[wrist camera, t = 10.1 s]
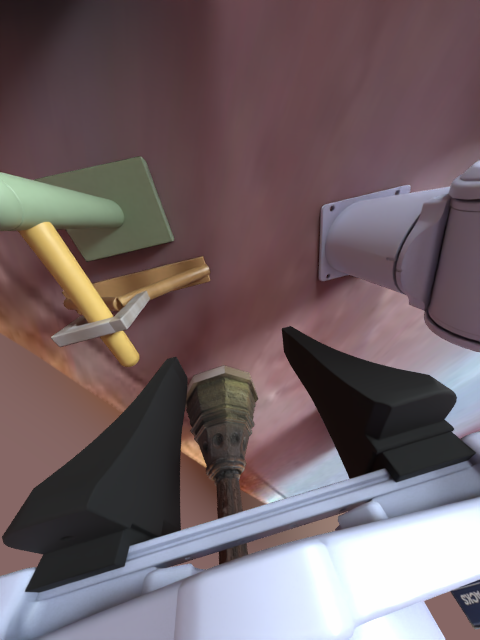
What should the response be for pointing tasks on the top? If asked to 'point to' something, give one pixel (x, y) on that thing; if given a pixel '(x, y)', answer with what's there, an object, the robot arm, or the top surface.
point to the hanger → (131, 298)
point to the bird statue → (223, 434)
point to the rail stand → (87, 227)
